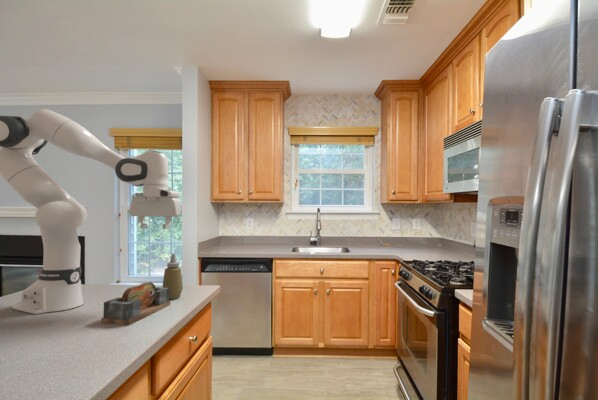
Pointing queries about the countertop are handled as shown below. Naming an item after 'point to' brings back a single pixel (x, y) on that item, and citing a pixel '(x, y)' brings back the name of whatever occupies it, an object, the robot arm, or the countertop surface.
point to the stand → (133, 308)
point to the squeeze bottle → (173, 278)
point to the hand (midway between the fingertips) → (154, 228)
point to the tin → (140, 294)
